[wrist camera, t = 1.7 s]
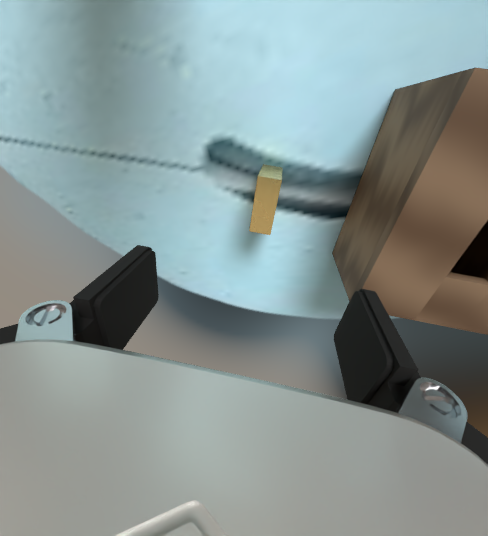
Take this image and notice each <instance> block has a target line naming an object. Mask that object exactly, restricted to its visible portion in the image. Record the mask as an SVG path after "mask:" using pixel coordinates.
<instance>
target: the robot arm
mask: <svg viewBox="0 0 488 536" xmlns="http://www.w3.org/2000/svg"><path fill="white" fill-rule="evenodd" d="M157 301H158V285H157V270H156V257H155V252H154V251H152V249H151V248H150V247H145V246H140V245H137V246H136V247H135V248H133V249H132V250H131V251H130V252H128V253H127V254H126V255H125V256H124V257H122V258H121V259H120V260H119V261H117V262H116V263H115V264H114V265H112V266H111V267H110V268H109V269H108V270H106V271H105V272H104V273H103V274H101V275H100V276H99V277H98V278H96V279H95V280H94V281H93V282H91V283H90V284H89V285H88V286H87V287H85V288H84V289H83V290H82V291H81V292H79V293H78V294H77V295H75V296H74V300H73V301H72V302H71V303H67V302H64V301H57V300H54V301H48V302H44V303H40V304H38V305H35V306H33V307H31V308H30V309H28V310H27V311H25V312H24V313H23V314H22V315H21V318H20V320H19V324H16V325H12V326H9V327H4V328H1V329H0V536H488V438H487V437H486V436H485V435H483V434H482V433H481V432H479V431H478V430H477V429H475V428H474V427H473V426H472V425H470V424H469V423H468V422H466V421H467V411H466V409H465V406H464V405H463V404H462V402H461V400H460V399H459V398H458V397H457V396H456V395H455V394H454V393H453V392H452V391H451V390H450V389H448V388H447V387H445V386H444V385H442V384H441V383H439V382H437V381H435V380H432V379H428V378H421V377H420V375H419V373H418V368H417V367H416V365H415V363H414V361H413V359H412V357H411V356H410V354H409V352H408V350H407V348H406V346H405V345H404V343H403V341H402V339H401V337H400V335H399V334H398V332H397V330H396V328H395V326H394V324H393V323H392V321H391V319H390V317H389V315H388V313H387V311H386V310H385V308H384V306H383V304H382V302H381V300H380V299H379V297H378V295H377V293H376V292H375V291H371V290H366V289H360V290H359V291H355V292H354V294H353V296H352V298H351V300H350V302H349V304H348V306H347V308H346V310H345V312H344V314H343V317H342V319H341V321H340V323H339V325H338V327H337V329H336V331H335V334H334V342H335V346H336V351H337V355H338V359H339V364H340V368H341V373H342V377H343V381H344V386H345V390H346V394H347V399H348V400H346V399H342V398H338V397H334V396H330V395H325V394H321V393H316V392H312V391H307V390H303V389H299V388H294V387H290V386H286V385H281V384H277V383H272V382H268V381H263V380H259V379H254V378H250V377H245V376H241V375H236V374H232V373H227V372H223V371H218V370H213V369H209V368H205V367H200V366H195V365H191V364H186V363H181V362H177V361H172V360H167V359H163V358H158V357H154V356H149V355H144V354H139V353H135V352H130V351H125V350H123V348H124V347H125V346H126V344H127V343H128V341H129V340H130V339H131V337H132V336H133V335H134V333H135V332H136V330H137V329H138V328H139V326H140V325H141V324H142V322H143V321H144V319H145V318H146V317H147V315H148V314H149V313H150V311H151V310H152V308H153V307H154V306H155V304H156V303H157Z"/></svg>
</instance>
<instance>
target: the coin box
mask: <svg viewBox="0 0 488 536" xmlns="http://www.w3.org/2000/svg"><path fill="white" fill-rule="evenodd" d="M332 254H333V257H334V259H335V262H336V265H337V268H338V271H339V273H340V276H341V279H342V282H343V284H344V287H345V290H346V293H347V296H348V298H349V301H350V300H351V298H352V296H353V294H354V292H355V291H359V290H360V289H366V290H371V291H375V292H376V293H377V295H378V297H379V299H380V300H381V302H382V304H383V306H384V308H385V310H386V311H387V313H388V315H390V316H395V317H400V318H405V319H411V320H416V321H421V322H426V323H431V324H436V325H441V326H447V327H452V328H457V329H462V330H467V331H472V332H477V333H482V334H488V69H482V68H472V69H468V70H465V71H461V72H458V73H454V74H450V75H447V76H443V77H439V78H436V79H432V80H428V81H425V82H421V83H417V84H414V85H410V86H407V87H403V88H399V89H396V90H395V92H394V94H393V97H392V99H391V102H390V104H389V107H388V110H387V112H386V115H385V117H384V120H383V123H382V125H381V128H380V130H379V133H378V136H377V138H376V141H375V143H374V146H373V149H372V151H371V154H370V156H369V159H368V162H367V164H366V167H365V169H364V172H363V174H362V177H361V180H360V182H359V185H358V187H357V190H356V193H355V195H354V198H353V200H352V203H351V206H350V208H349V211H348V213H347V216H346V219H345V221H344V224H343V226H342V229H341V232H340V234H339V237H338V239H337V242H336V245H335V247H334V250H333V252H332Z"/></svg>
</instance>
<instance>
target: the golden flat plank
mask: <svg viewBox="0 0 488 536" xmlns="http://www.w3.org/2000/svg"><path fill="white" fill-rule="evenodd" d="M281 182H282V168H281V167H275V166H269V165H263V166H262V168H261V170H260V173H259V175H258V179H257V185H256V191H255V198H254V204H253V210H252V217H251V223H250V230H249V231H251V232H257V233H262V234H267V235H270V233H271V229H272V224H273V219H274V215H275V210H276V205H277V200H278V196H279V191H280V186H281Z"/></svg>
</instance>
